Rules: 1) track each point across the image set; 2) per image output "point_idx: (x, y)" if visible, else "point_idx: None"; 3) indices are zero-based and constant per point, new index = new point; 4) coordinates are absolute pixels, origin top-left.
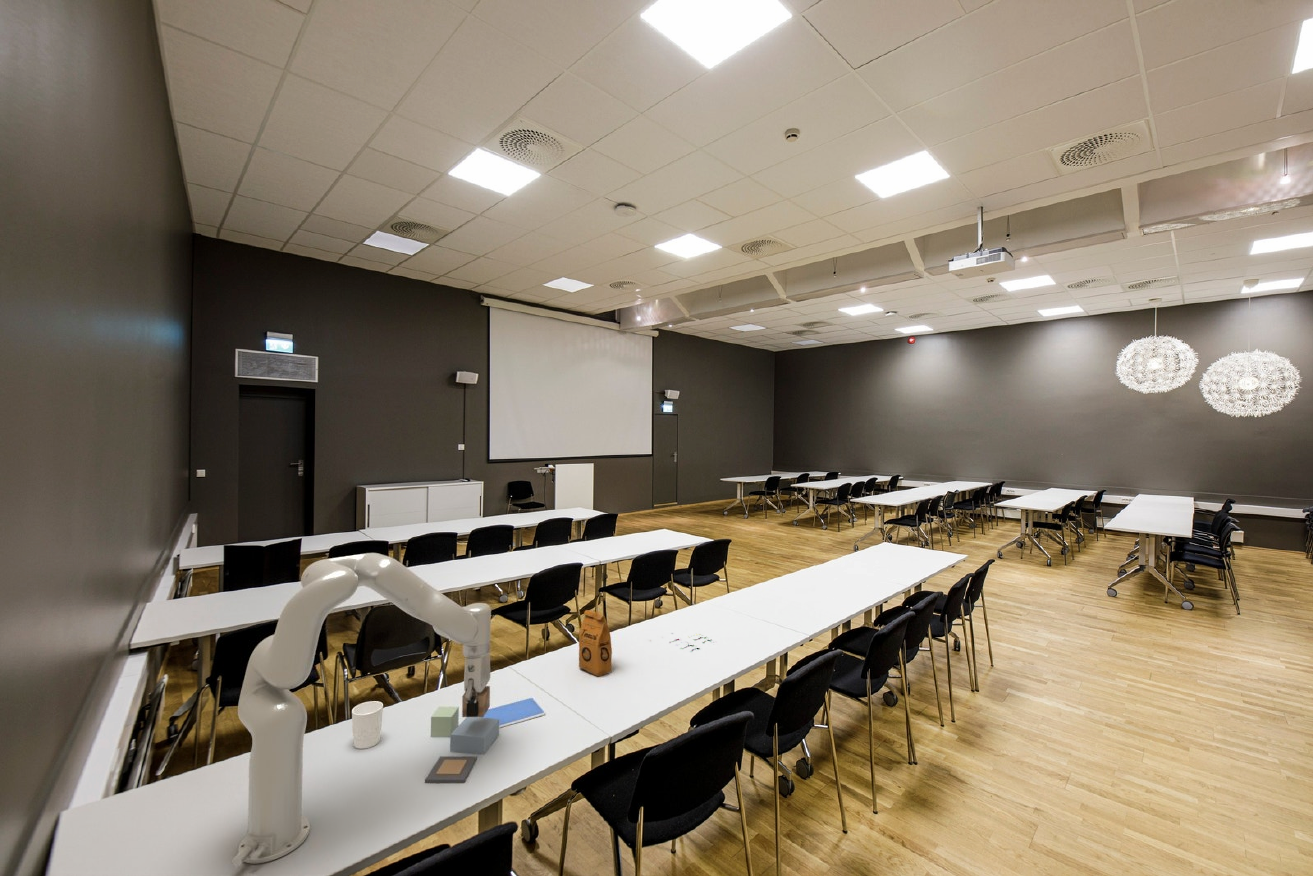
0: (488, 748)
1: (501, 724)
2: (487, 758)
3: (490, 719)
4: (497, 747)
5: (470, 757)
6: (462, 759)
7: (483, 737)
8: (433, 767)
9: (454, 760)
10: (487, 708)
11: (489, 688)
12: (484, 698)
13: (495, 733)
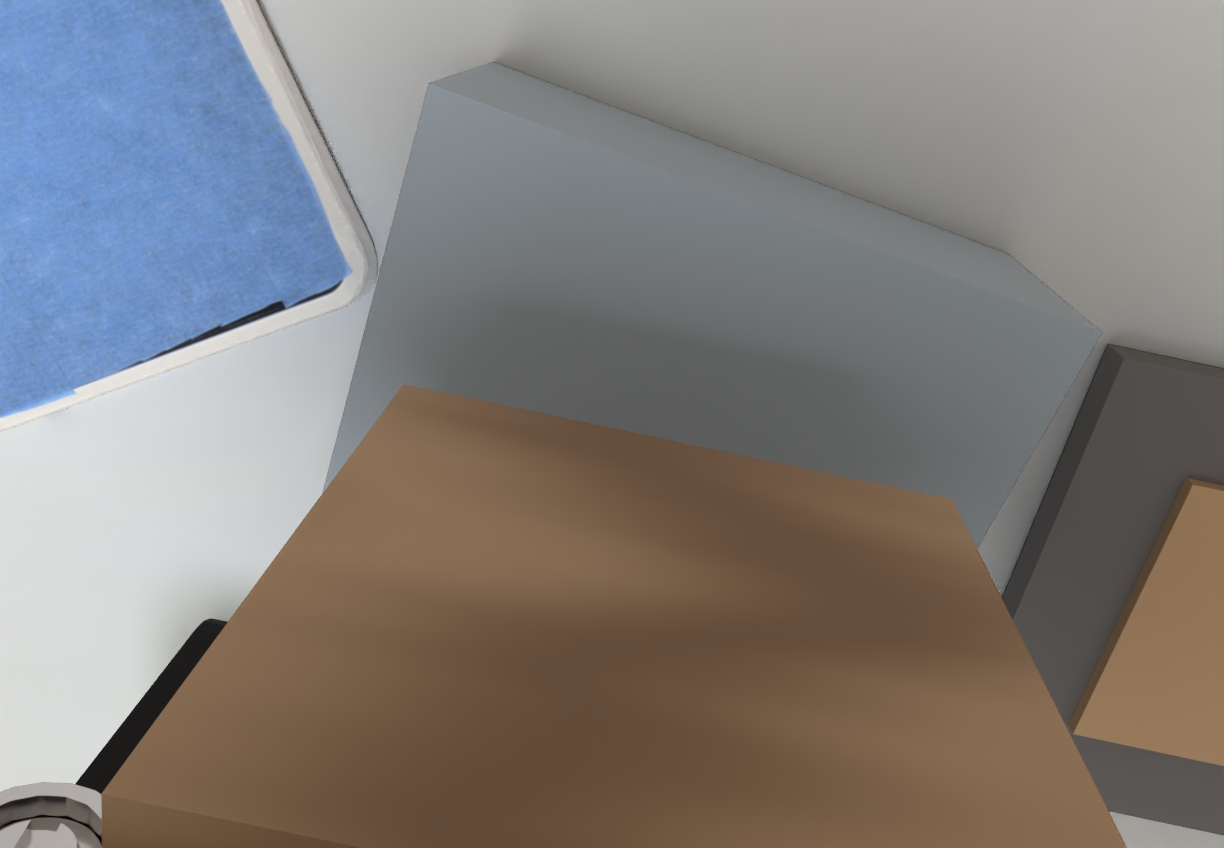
0: (862, 201)
1: (220, 39)
2: (1133, 193)
3: (422, 264)
4: (866, 57)
5: (1112, 441)
6: (1125, 537)
7: (1091, 348)
8: (1169, 819)
9: (1142, 632)
10: (602, 448)
11: (216, 748)
12: (1011, 840)
13: (615, 122)
